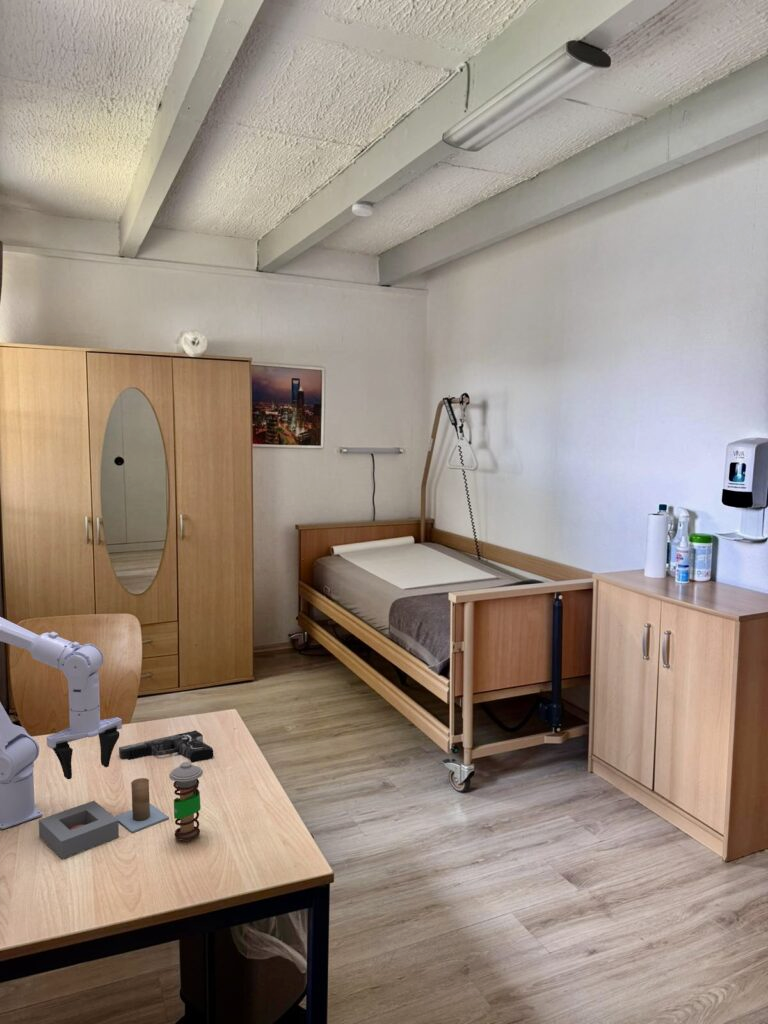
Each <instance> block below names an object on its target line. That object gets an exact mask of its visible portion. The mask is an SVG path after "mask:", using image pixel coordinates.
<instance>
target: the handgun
mask: <svg viewBox="0 0 768 1024" xmlns="http://www.w3.org/2000/svg"><path fill="white" fill-rule="evenodd" d="M203 738H204V736H203V734H202V733H201V732H199V731H197V730H192V731H187V732H182V733H178V734H174V735H170V736H163V737H160V738H155V739H154V738H153V739H149V740H145V741H143V742H137V743H133V744H128V745H122V746H118V755H119V758H120V759H121V760H125V759H128V760H131V759H132V760H134V759H138V758H139V757H140V758H143V757H147V756H166V755H171V754H176V753H177V754H179V755H182V756H184V757H186V758H187V759H189V760H190V762H191V763H197V762H202V761H207V760H211V759H213V758H214V749H213V747H212V746H210V745H208V744H207V743H204V739H203Z"/></svg>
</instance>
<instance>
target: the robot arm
mask: <svg viewBox="0 0 768 1024" xmlns="http://www.w3.org/2000/svg"><path fill="white" fill-rule="evenodd" d="M0 642H1V643H2V642H3V643H6V644H7V645H11V646H13V647H17V648H20V649H23V650H27V651H29V653H30V655H31V658H32V659H33V660H35V661H38V662H39V663H42V664H45V665H48V666H49V667H53V668H55V669H58V670H60V671H61V673H62V674H63V676H64V677H65V678H66V679H67V688H68V707H69V711H68V713H69V727H66V728H65V729H63V730H60V731H58V732H56V733H54V734H51V735H47V736H46V746H47V747H48V748H49V749H51V750H53V752H54V754H55V756H56V757H57V759H58V761H59V763H60V767H61V769H62V770H61V771H62V773H63V777H64V778H65V779H67V780H71V779H72V776H73V772H72V771H73V770H72V757H73V751H74V750H73V748H72V747H70V743H71V742H74V741H79V740H81V739H82V740H83V739H85V738H93V737H94V738H95V737H96V736H98V739H99V745H100V764H101V766H102V767H104V768H108V767H110V763H111V758H112V754H113V751H114V749H115V746H116V744H117V742H118V741H119V738H120V732H119V731H118V730H121V729H122V728H123V721H122V720H123V719H122V718H120V717H113V718H106V719H101V703H100V700H101V697H100V678H99V677H100V675H99V674H100V673H99V669H100V668H101V667H102V666H103V663H104V654H103V652H102V651H101V649H100V648H99V647H97V646H96V645H94V644H93V643H85V644H82V645H81V644H80V642H78V641H74V642H72V641H70V640H69V639H65V638H62V637H60V636H59V633H57V632H55V631H51V632H44V633H42V634H36V633H35V632H33V631H31V630H28V629H26V628H24V627H22V626H20V625H18V624H16V623H13V622H12V621H9V620H7V619H5V618H4V617H1V616H0ZM39 755H40V745H39V743H38V741H37V740H36V739H35V738H34V737H33V736H31V735H30V734H29V733H28V732H27V731H26V728H25V727H23V726H20V725H16V724H14V723H13V722H12V721H11V719H10V717H9V715H8V713H7V711H6V710H5V708H4V706H3V705H2V702H1V701H0V829H1V830H5V829H7V828H11V827H14V826H17V825H19V824H23V823H25V822H27V821H31V820H35V819H36V818H39V817H41V816H43V812H41V811H40V809H38V808H37V806H36V805H35V786H34V785H35V783H34V782H35V781H34V779H35V778H34V767H35V764H34V763H35V761H36V760H37V759H38V757H39Z"/></svg>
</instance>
